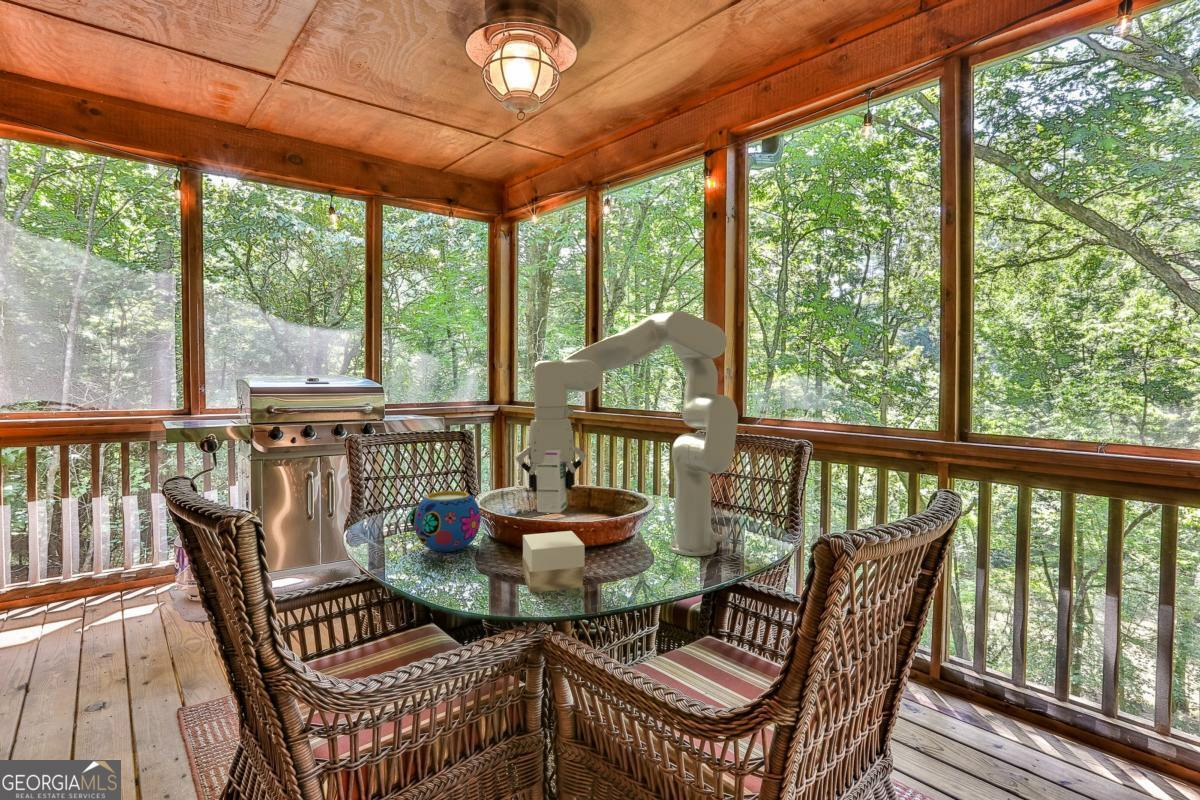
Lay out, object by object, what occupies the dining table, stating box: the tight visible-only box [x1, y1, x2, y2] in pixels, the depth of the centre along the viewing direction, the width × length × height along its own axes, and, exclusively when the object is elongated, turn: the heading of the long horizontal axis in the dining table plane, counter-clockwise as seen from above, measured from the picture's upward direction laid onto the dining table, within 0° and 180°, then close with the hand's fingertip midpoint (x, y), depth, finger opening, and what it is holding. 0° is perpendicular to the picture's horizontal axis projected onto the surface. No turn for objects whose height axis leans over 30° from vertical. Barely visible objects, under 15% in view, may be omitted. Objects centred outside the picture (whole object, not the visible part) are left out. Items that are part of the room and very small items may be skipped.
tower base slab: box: [522, 555, 584, 594], centre depth 138 cm, size 12×12×5 cm
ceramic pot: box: [408, 490, 482, 553], centre depth 162 cm, size 18×18×15 cm
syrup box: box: [535, 449, 568, 514], centre depth 137 cm, size 6×6×14 cm
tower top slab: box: [522, 530, 586, 572], centre depth 138 cm, size 12×12×5 cm
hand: (551, 489), depth 137 cm, fingers closed on syrup box, 7 cm apart
